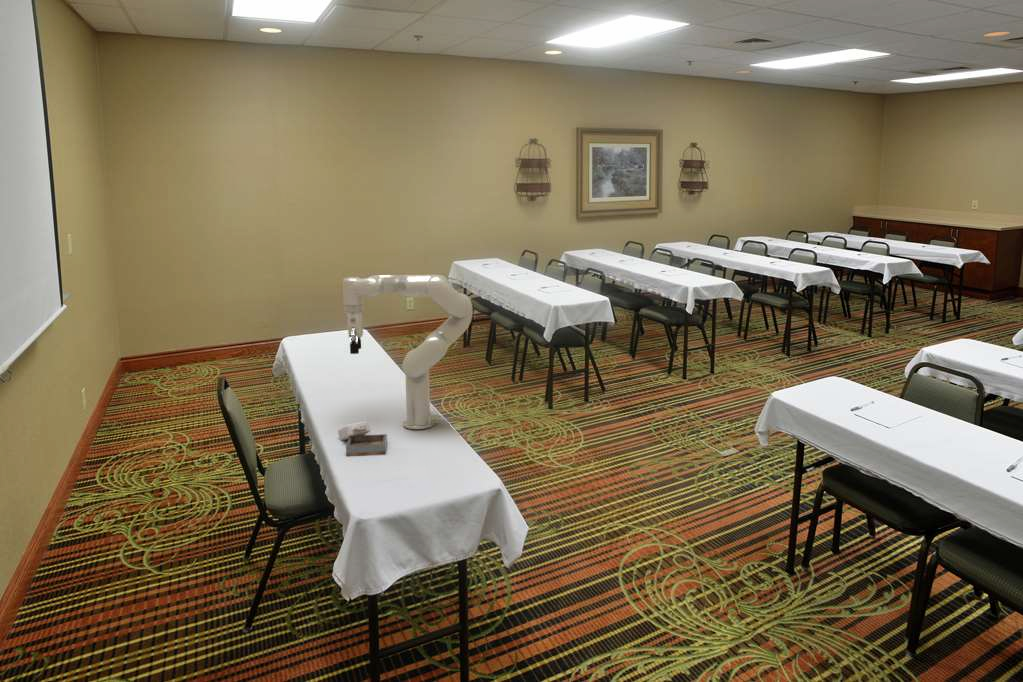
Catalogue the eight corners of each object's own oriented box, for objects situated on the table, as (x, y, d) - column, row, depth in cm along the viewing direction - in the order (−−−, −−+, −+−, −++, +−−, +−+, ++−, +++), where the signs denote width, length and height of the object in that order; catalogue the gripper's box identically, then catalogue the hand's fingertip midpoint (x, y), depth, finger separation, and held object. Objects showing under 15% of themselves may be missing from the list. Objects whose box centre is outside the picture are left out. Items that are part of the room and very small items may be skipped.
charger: (374, 417, 252) (359, 425, 264) (351, 421, 246) (337, 429, 258) (377, 429, 251) (362, 436, 263) (354, 433, 246) (340, 441, 257)
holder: (387, 443, 255) (386, 434, 254) (385, 454, 243) (384, 444, 243) (350, 445, 253) (349, 435, 253) (346, 456, 242) (345, 446, 241)
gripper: (361, 311, 253) (363, 355, 256) (365, 305, 270) (367, 346, 273) (341, 312, 252) (343, 355, 255) (346, 306, 269) (348, 347, 272)
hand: (355, 351), depth 264 cm, fingers open, 9 cm apart
